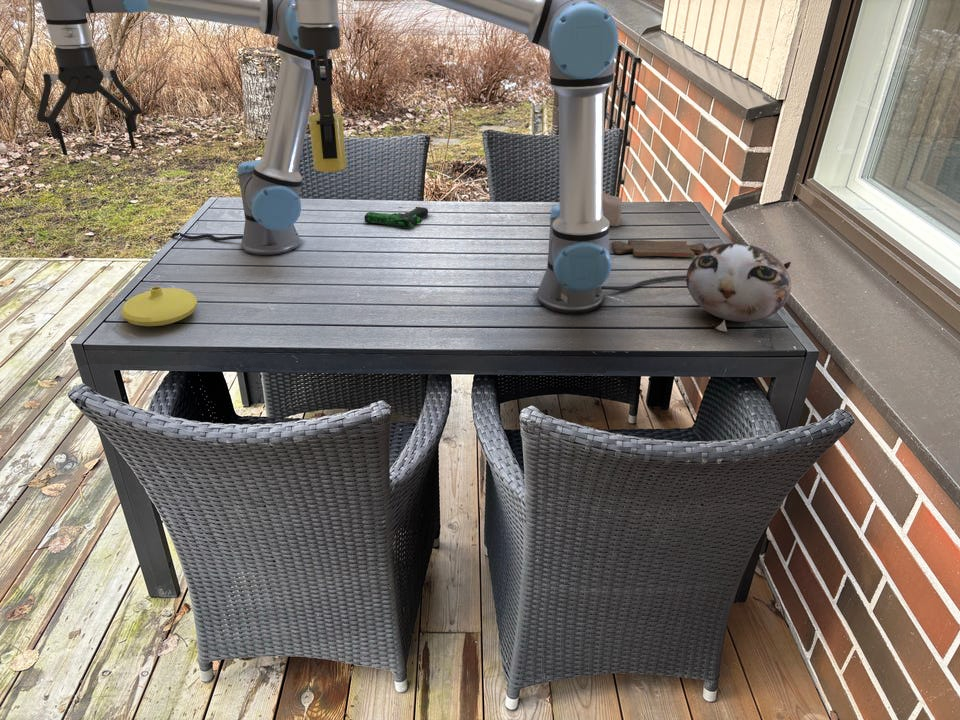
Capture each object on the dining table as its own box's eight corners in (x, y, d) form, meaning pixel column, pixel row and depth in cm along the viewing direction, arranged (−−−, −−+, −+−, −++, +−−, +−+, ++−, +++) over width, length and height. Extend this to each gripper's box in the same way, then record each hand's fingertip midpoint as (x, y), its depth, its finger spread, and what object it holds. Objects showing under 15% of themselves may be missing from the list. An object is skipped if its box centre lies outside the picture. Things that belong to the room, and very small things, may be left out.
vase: (172, 295, 169) (166, 268, 165) (214, 314, 161) (208, 285, 157) (109, 320, 158) (101, 291, 154) (150, 341, 150) (143, 311, 146)
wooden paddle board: (710, 260, 193) (701, 246, 201) (711, 254, 192) (702, 240, 200) (615, 256, 193) (610, 243, 202) (615, 250, 192) (611, 237, 201)
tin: (344, 172, 140) (340, 120, 135) (311, 172, 139) (306, 120, 134) (347, 163, 145) (344, 113, 140) (316, 163, 145) (311, 112, 140)
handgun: (434, 207, 218) (411, 221, 205) (434, 217, 219) (411, 231, 207) (387, 201, 223) (362, 214, 211) (387, 210, 224) (363, 224, 212)
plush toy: (664, 307, 155) (693, 222, 157) (679, 329, 171) (705, 252, 172) (770, 332, 145) (800, 241, 146) (775, 353, 160) (802, 271, 162)
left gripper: (2, 51, 139) (35, 161, 149) (140, 45, 149) (162, 148, 159) (3, 46, 144) (35, 152, 155) (137, 41, 154) (158, 140, 165)
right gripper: (296, 19, 136) (309, 142, 148) (296, 31, 120) (310, 167, 132) (336, 19, 138) (345, 140, 150) (341, 30, 122) (351, 166, 134)
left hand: (100, 150), depth 157 cm, fingers open, 13 cm apart
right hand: (329, 153), depth 141 cm, fingers closed on tin, 6 cm apart
